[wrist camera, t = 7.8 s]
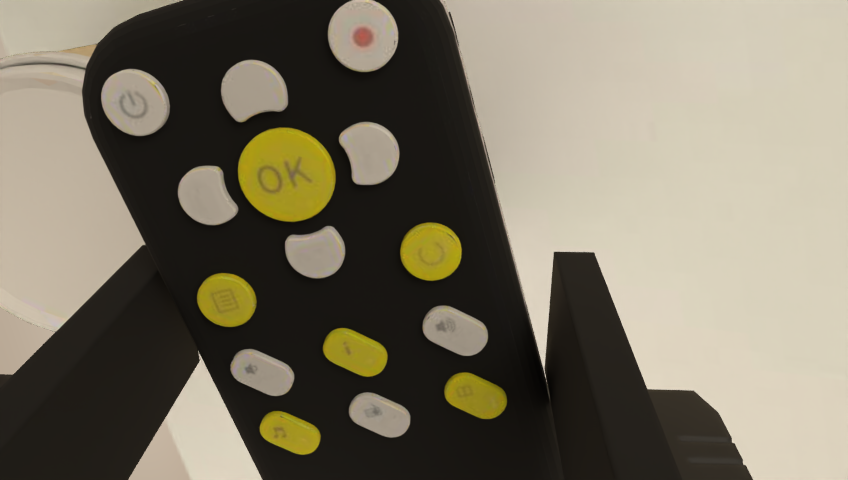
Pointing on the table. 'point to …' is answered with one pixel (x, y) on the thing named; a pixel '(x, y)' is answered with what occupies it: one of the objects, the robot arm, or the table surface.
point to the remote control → (329, 233)
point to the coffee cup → (54, 192)
